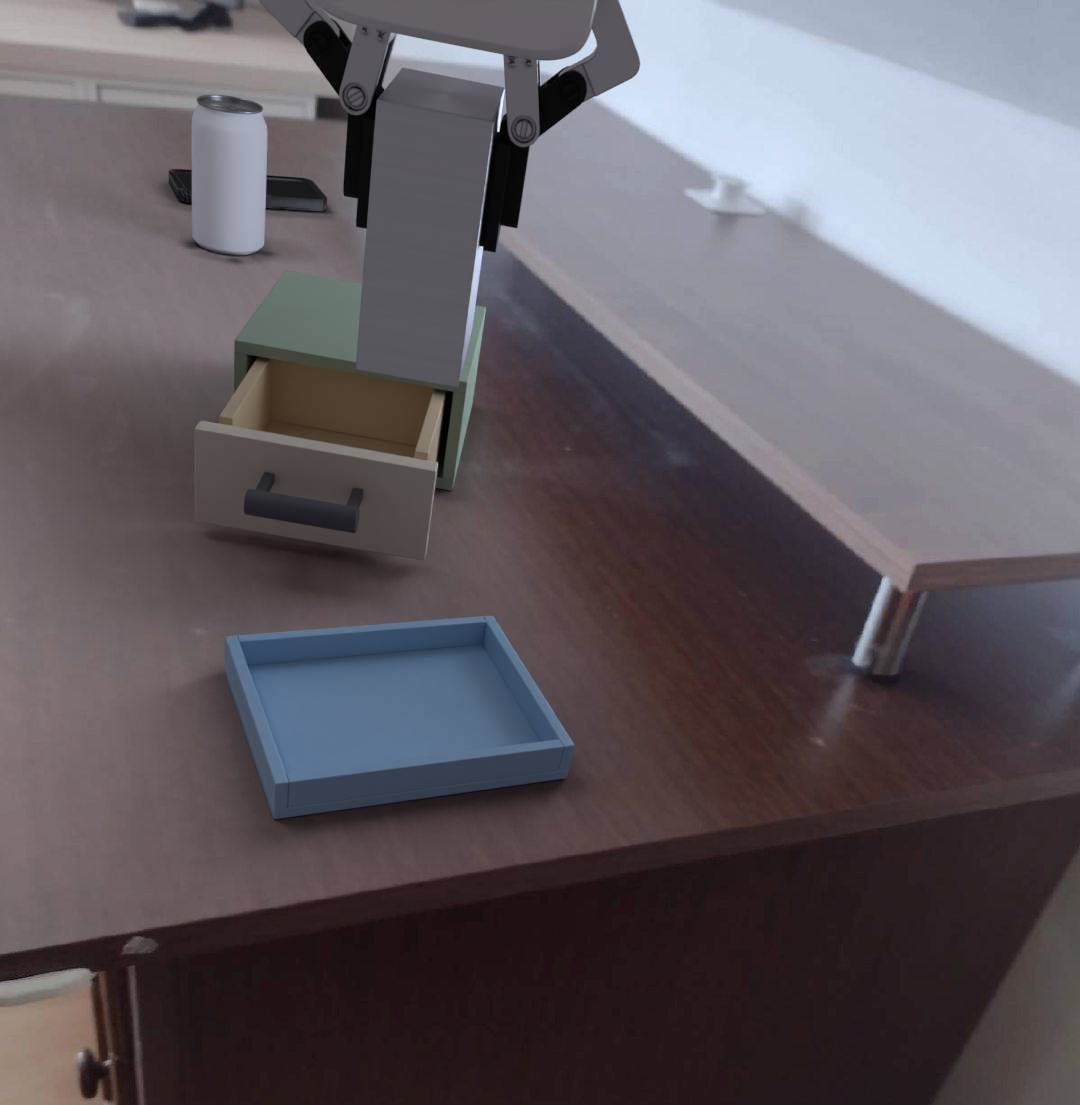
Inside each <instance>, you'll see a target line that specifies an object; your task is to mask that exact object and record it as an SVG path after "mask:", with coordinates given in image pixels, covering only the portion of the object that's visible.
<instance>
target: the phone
mask: <svg viewBox="0 0 1080 1105" xmlns="http://www.w3.org/2000/svg"><path fill="white" fill-rule="evenodd" d="M168 184H169V186H170V187H171V188H170V189H172V191H173V193H174V195H175V196H176V198H177V200H178V201H179V202H182V203H185V204H192V169H186V168H185V169H183V168H171V169H169V170H168ZM327 206H328V197H327V196H326V194H325V193H324V192H323V191H322V190H321V188H320V187H319V186H318V185H317V184H316V183H315V181H313V180H312V179H310V178H307V177H298V176H283V175H268V174H266V206H265V209H276V210H277V209H278V210H293V211H295V210H296V211H311V212H312V211H313V212H325V211H327Z"/></svg>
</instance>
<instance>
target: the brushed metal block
mask: <svg viewBox="0 0 1080 1105" xmlns="http://www.w3.org/2000/svg"><path fill="white" fill-rule="evenodd" d="M505 94H506V93H505V86H500V85H495V84H489V83H483V82H479V81H473V80H469V79H463V78H459V77H454V76H448V75H443V74H438V73H433V72H428V71H423V70H418V69H412V68H407V67H401V68H400V70H399V71H398V73H397V74H396V75H395V76H394V77H393V79H391V80H390V82H389V84H388V85H387V87H386V88H384V92H383V93H382V94H381V95H380V97H379V98H378V99H377V102H376V115H375V128H374V141H373V153H372V166H371V179H370V192H369V205H368V217H367V229H365V230H366V231H365V232H366V233H365V242H364V243H365V244H364V258H363V271H362V280H361V281H362V282H361V284H362V294H361V307H360V320H359V332H358V345H357V358H356V370H360V371H366V372H371V373H377V374H383V375H388V376H394V377H400V378H405V379H411V380H417V381H422V382H428V383H434V384H439V385H445V386H451V387H456V388H457V387H458V386H459V383H460V378H461V374H462V370H463V366H464V362H465V357H466V353H467V349H468V345H469V341H470V336H471V332H472V327H473V320H474V313H475V305H476V304H477V297H478V289H479V282H480V275H481V268H482V260H483V252H484V250H483V247H482V246H479V244H480V237H481V229H482V222H483V214H484V207H485V199H486V192H487V184H488V177H489V169H490V162H491V155H492V148H493V143H494V140H495V137H496V134H497V132H500V124H501V121H502V116H503V108H504V100H505Z"/></svg>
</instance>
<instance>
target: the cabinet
mask: <svg viewBox="0 0 1080 1105" xmlns="http://www.w3.org/2000/svg"><path fill="white" fill-rule="evenodd" d="M361 294H362V283H358V282H353V281H348V280H343V279H337V278H332V277H326V276H320V275H315V274H309V273H305V272H300V271H292V270H289V269H285V270H284V271H283V272H282V274H281V275H280V276H279V278H278V279H277V281H276V282H275V283H274V284H273V286H272V288H271V289H270V290H269V292H268V293H267V295H265V297H264V298H263V300H262V301H261V303H260V304H259V305H258V307H257V309H255V311H254V312H253V314H252V315H251V316H250V318H249V320H248V321H247V322H246V323H245V325H244V326H243V328H242V329H241V331H240V332H239V333H238V335H237V336H236V337H235V339H234V341H233V342H234V346H233V347H234V348H233V350H234V353H233V354H234V355H233V356H234V357H233V394H234V393H235V391H236V390H237V388H238V387H239V385H240V384H241V382H242V380H243V379H244V377H245V376H246V374H247V373H248V371H249V370H250V368H251V367H252V365H253V364H254V362H255V361H256V359H257V358H258V356H259V357H265V358H270V359H276V360H281V361H287V362H292V363H298V364H303V365H309V366H314V367H320V368H325V369H331V370H336V371H342V372H347V373H353V374H358V375H364V376H369V377H375V378H380V379H386V380H391V381H397V382H402V383H408V384H413V385H419V386H424V387H430V388H435V389H441V390H446V391H447V399H446V407H445V414H444V422H443V430H442V438H441V445H440V453H439V458H438V469H437V477H436V485H435V489H440V490H445V491H450V492H451V491H454V486H455V481H456V478H457V473H458V469H459V464H460V460H461V455H462V452H463V447H464V444H465V443H464V442H465V439H466V434H467V431H468V426H469V421H470V417H471V412H472V408H473V403H474V395H475V388H476V381H477V376H478V375H477V374H478V367H479V361H480V355H481V354H480V353H481V348H482V347H481V346H482V339H483V332H484V326H485V318H486V312H487V307H486V306H482V305H475V313H474V320H473V327H472V332H471V336H470V341H469V345H468V349H467V353H466V357H465V362H464V366H463V370H462V374H461V378H460V383H459V386H458V387H457V388H456V387H451V386H445V385H439V384H434V383H428V382H422V381H417V380H411V379H405V378H400V377H394V376H388V375H383V374H377V373H371V372H366V371H360V370H356V358H357V345H358V332H359V320H360V307H361Z"/></svg>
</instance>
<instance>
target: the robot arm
mask: <svg viewBox="0 0 1080 1105" xmlns="http://www.w3.org/2000/svg"><path fill="white" fill-rule="evenodd" d="M258 2H259V3H260V5H261V6H262V7H263V8H264V9H265V10H266V11H267V12H268V13H269V15H271V16H272V17H273V18H274V19H275V20H276V21H277V22H278V23H279V24H280V25H281V26H282V27H283V28H284V29H285V30H286V31H287V32H288V33H289V34H290V35H291V37H292V38H295V39H296V40H297V41H298V42H299V43H300V44H301V45H302V46H303V47H304V49H305V51H306V53H307V54H308V55H309V57H310V59H311V60H312V61H313V63H314V64H315V65H316V67H317V68H318V69H319V71H320V72H321V74H322V75H323V76H324V78H325V79H326V81H327V82H328V83H329V85H330V86H331V87H332V89H333V90H334V92H335V93H336V95H337V96H338V98H339V99H338V100H339V104H340V105H341V107H342V108H343V110H344V111H345V112H347V124H346V138H345V154H344V168H343V170H344V171H343V183H342V184H343V186H342V192H343V196H344V197H345V198H346V197H347V198H351V199H357V201H356V213H355V214H356V215H355V217H356V218H355V227H356V228H360V229H364V230H367V217H368V205H369V192H370V179H371V166H372V153H373V141H374V128H375V115H376V102H377V99H378V98H379V97H380V95H381V94H382V93H383V92H384V90H385V88H384V86H383V85H384V83H385V78H386V74H387V72H388V68H389V65H390V61H391V58H392V54H393V50H394V46H395V45H396V44H395V43H396V41H397V36H398V35H400V36H406V37H411V38H416V39H421V40H427V41H431V42H436V43H440V44H441V43H442V44H447V45H451V46H456V47H461V48H467V49H472V50H477V51H483V52H487V53H493V54H499V55H502V56H503V73H504V74H503V75H504V88H505V93H504V94H505V105H506V106H505V109H506V112H505V113H504V114H502V117H501V122H500V129H499V132H497V134H496V137H495V140H494V143H493V148H492V155H491V162H490V169H489V177H488V184H487V192H486V199H485V207H484V214H483V222H482V229H481V237H480V244H479V246H482V247H483V252H484V251H485V252H489V253H495V254H496V252H497V247H498V244H499V239H500V234H501V229H502V227H507V228H512V229H513V228H514V229H518V227H519V221H520V214H521V209H522V201H523V195H524V188H525V183H526V182H525V181H526V174H527V168H528V162H529V155H530V147H531V146H532V145H534V144H535V143H536V142H537V140H538V138H540V137H542V135H544V134H545V133H546V132H548V131H549V130H551V129H552V128H553V127H554V126H555V125H557V124H558V123H559V122H561V121H562V120H563V119H564V118H566V117H567V116H568V115H569V114H571V113H572V112H573V111H574V110H576V109H577V108H579V107H580V106H581V105H582V104H583V103H585V102H587V101H589V100H590V99H593V98H595V97H598V96H600V95H602V94H603V93H606V92H608V91H610V90H612V89H614V88H615V87H618V86H620V85H622V84H624V83H625V82H628V81H629V80H631V79H633V78H634V77H636V76H637V74H638V72H639V71H640V68H641V60H640V56H639V51H638V49H637V46H636V43H635V41H634V38H633V35H632V32H631V29H630V27H629V24H628V22H627V19H626V16H625V13H624V11H623V8H622V5H621V2H620V0H258ZM328 14H329V15H330V16H332V17H334V18H335V19H338V20H340V21H343V22H346V23H348V24H351V25H356V27H355V31H354V33H353V34H354V35H353V38H352V41H351V39H350V38H349V36H348V35H347V34H346V32H345V30H344V29H343V28H342V27H341V25H340V24H339V23H338V22H337V20H335V19H333V18H331V17H330V16H329V15H328ZM591 32H592V33H593V35H594V36H593V37H594V38H595V43H596V46H595V48H594V50H593V52H591V53H590V54H588V55H587V56H585V57H583V58H582V59H581V60H579V61H577V62H575V63H572V64H571V65H567V66H565V67H562V68H561V69H560V70H559V71H558V72H556V73H555V74H553V76H551V77H549V79H547V80H546V81H545V82H543V83H542V80H541V79H542V78H541V61H546V62H549V61H558V60H563V59H567V58H570V57H571V56H574V55H577V54H578V53H579V52H580V51H581V50H582V49H583V48H584V47H585V45H586V43H587V42H588V39H589V37H590V35H591Z"/></svg>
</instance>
